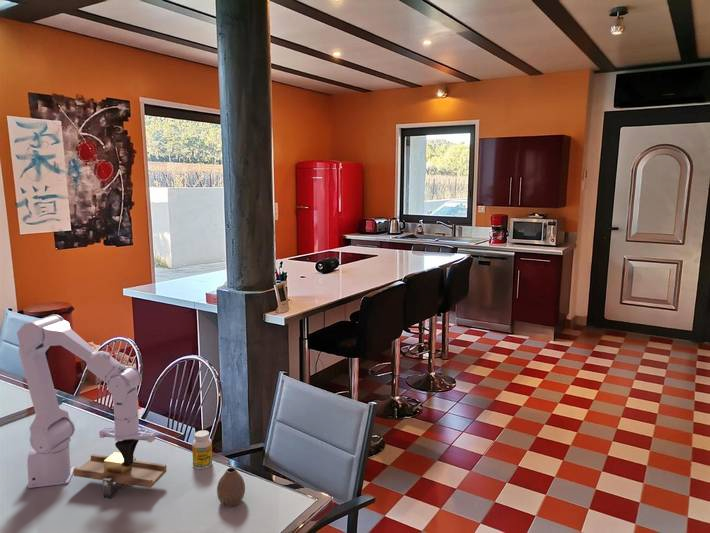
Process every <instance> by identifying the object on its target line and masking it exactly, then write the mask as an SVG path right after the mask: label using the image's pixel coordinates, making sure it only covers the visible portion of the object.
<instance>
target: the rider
mask: <svg viewBox="0 0 710 533" xmlns="http://www.w3.org/2000/svg"><path fill="white" fill-rule="evenodd" d="M108 456H109V457H108V458H107V459H105V460H104V471H105V472H112V473H118V474H124V473H126V472H127V471H128V470H129V469H130V468H131V467H132V464H131V465H130V466H129V467H126V466H125V465H124V458H123V456H122V454H121V452H120V451H119V452H118V451H113V453H111V454H110V455H108Z"/></svg>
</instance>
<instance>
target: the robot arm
mask: <svg viewBox="0 0 710 533" xmlns="http://www.w3.org/2000/svg"><path fill="white" fill-rule="evenodd" d="M16 334H17V335H16V336H17V339H18V343H19V346H18V353H19V354H18V355H19V357H20V361H21V364H22V370H23V372H24V376H25V379H26V380H25V381H26V383H27V387H28V391H29V394H30V395H29V396H30V399H31V401H32V402H31V403H32V406H33V410H34V413H35V417H34V419H33V421H32V422H31V424H30V426H29V431H30V437H29V444H30V447H31V449H30V450H29V452H28V455H27V461H26V462H27V476H28V477H27V478H28V479H27V480H28V485H27V489H31V488H32V489H33V488H39V487H49V486H57V485H67V484H69V482H70V481H71V478H72V477H73V475H74V468H75V467H76V466H71V456H70V453H71V452H70V442H71V437H73V435H74V434H75V431H76V427H75V423H74V422H73V420H72V419H71V417H70V416H69V412H68V410H64V409H61V407H60V405H59V401H58V397H57V394H56V390H55V386H54V382H53V379H52V374H51V371H50V367H49V362H48V360H47V356H46V352H47V351H48V350H49V348H50V347H51V346H53V347H56V346H61V347H63V348H64V349H65V350H67V351H69V352H70V353H71V354H73V355H75V356H77V357H78V358H80V359H81V360H83V361H84V362H86V369H87V370H88V371H89V372H90V373H93V375H95V376H96V377H97V378H99V379H100V380H101V381H102V382H104V383H106V389H107V391H108V392H109V393H110V395H111V400H112V403H113V419H114V420H113V421H114V427H103V428H101V429H99V432H98V434H99V439H100V438H101V439H104V438H114V441H116V442H115V444H114V445H115V447H116V448H117V450H118V451H119V453H121V454H122V456H123V458H124V465H125V466H126V467H129V466H130V465H131V464H132V463H133V458H134V453H135V450H136V447H137V445H138V444H139V441H145V442H146V441H147V443H152V442H154V441H155V440H156V432H155V431H149V430H147V429H145V428H141V427H140V422H139V420H140V419H139V404H138V403H139V400H138V386H140V384H141V383H142V375H141V373H140V371H139V370H138V368H136V367H135V366H132V365H131V366H130V365H129V366H127V365H125V364H123V363H121V362H120V361H118V360H117V359H116V358H114V357H113V356H112V354H111V353H110V352H109V351H104V350H96V349H94V347H92V346H91V345H90V344H89V343H88V342H87V341H86V340H85V339H84V338H82V337H81V336H80V335H79V334H77V333H76V331H74V330H73V329H72V327H71V325H70V322H69V321H67V320H65V319H64V318H63V317H62V316H61V315H59V314H55V313H53V314H50V315H48V316H45V317H42V318H39V319H37V320H33V321H28V322H25V323H24V324H23V325H21V326H20V328H19V329H18V331H17V332H16Z"/></svg>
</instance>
